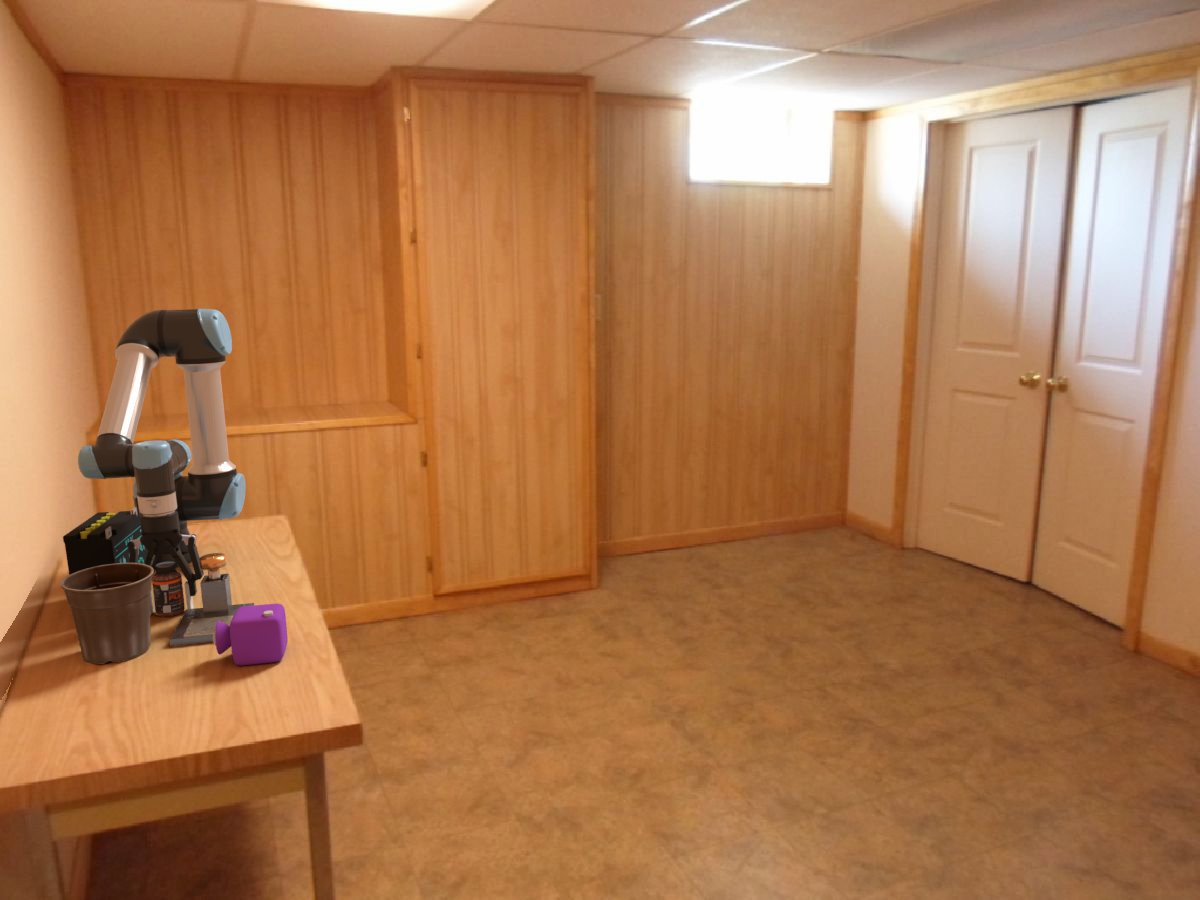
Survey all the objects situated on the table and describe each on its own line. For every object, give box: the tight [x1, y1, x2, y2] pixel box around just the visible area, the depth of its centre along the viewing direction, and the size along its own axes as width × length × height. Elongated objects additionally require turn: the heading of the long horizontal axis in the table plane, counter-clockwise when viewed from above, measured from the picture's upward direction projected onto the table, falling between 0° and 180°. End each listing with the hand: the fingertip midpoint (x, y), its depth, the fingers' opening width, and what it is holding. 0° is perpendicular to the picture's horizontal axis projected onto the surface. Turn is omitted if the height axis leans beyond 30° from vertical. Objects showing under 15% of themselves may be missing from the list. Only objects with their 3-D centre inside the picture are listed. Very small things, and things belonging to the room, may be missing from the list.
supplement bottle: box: [152, 562, 186, 618], centre depth 203 cm, size 6×6×11 cm
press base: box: [169, 573, 255, 647], centre depth 194 cm, size 17×14×9 cm
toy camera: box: [212, 603, 289, 666], centre depth 179 cm, size 11×14×10 cm
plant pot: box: [60, 563, 155, 665], centre depth 182 cm, size 16×16×16 cm
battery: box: [62, 506, 146, 576], centre depth 208 cm, size 19×10×20 cm, turn 8°
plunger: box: [199, 552, 227, 581], centre depth 198 cm, size 5×5×7 cm
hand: (170, 611), depth 204 cm, fingers open, 8 cm apart
